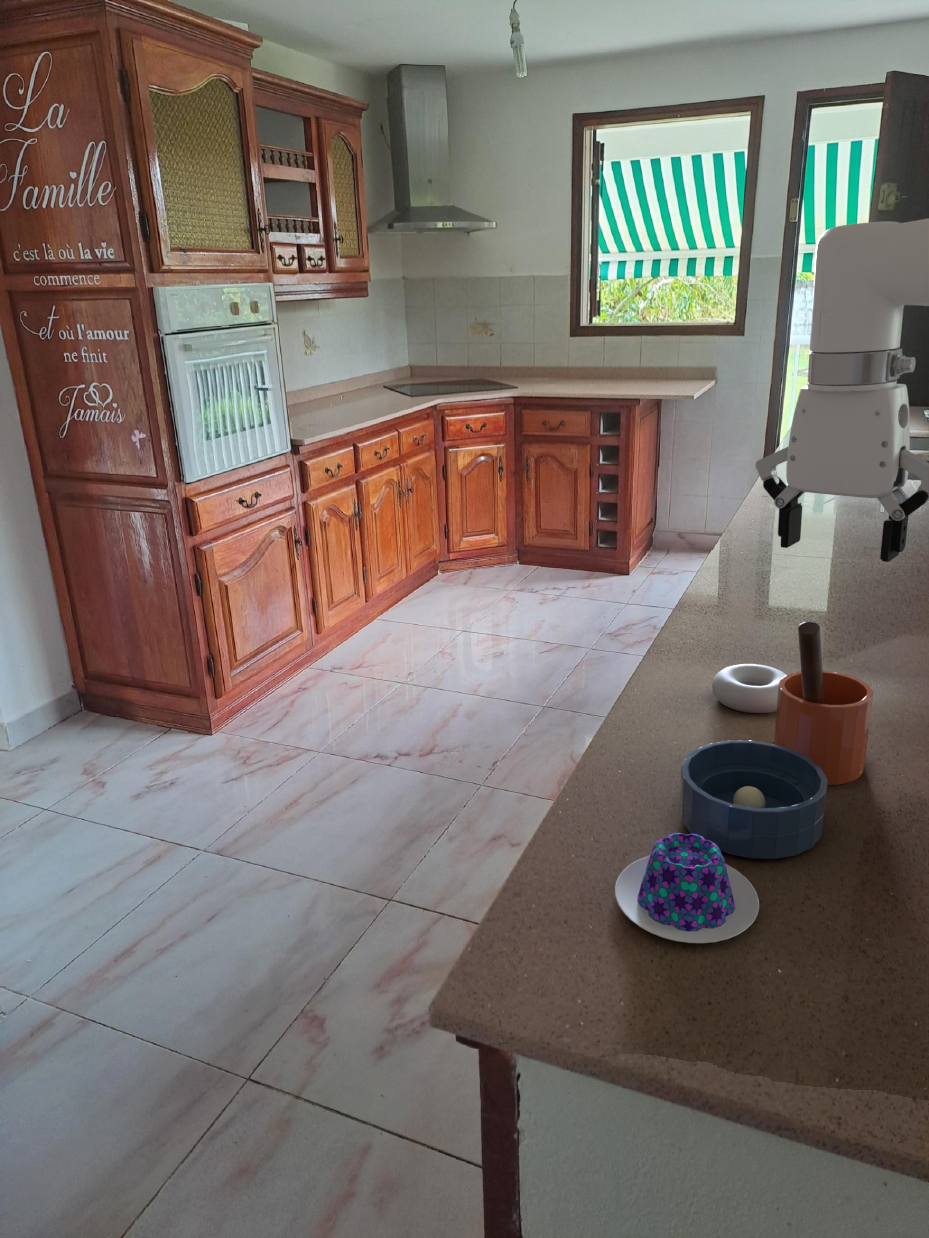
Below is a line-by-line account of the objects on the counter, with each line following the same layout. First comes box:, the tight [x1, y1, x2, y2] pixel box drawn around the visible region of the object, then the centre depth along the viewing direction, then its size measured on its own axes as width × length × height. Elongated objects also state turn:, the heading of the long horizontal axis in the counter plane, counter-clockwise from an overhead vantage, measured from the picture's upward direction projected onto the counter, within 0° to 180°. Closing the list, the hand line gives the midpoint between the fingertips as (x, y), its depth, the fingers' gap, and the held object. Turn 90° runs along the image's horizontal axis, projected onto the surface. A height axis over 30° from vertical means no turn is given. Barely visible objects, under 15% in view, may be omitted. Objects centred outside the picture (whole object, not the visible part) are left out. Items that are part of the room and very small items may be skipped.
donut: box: [711, 663, 787, 714], centre depth 110 cm, size 10×4×10 cm
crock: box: [773, 669, 874, 786], centre depth 94 cm, size 9×9×9 cm
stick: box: [797, 621, 824, 704], centre depth 91 cm, size 2×2×18 cm
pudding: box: [614, 832, 760, 944], centre depth 75 cm, size 12×12×5 cm
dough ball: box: [733, 786, 765, 808], centre depth 86 cm, size 3×3×3 cm
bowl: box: [679, 739, 828, 860], centre depth 85 cm, size 13×13×6 cm
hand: (838, 551), depth 86 cm, fingers open, 9 cm apart
